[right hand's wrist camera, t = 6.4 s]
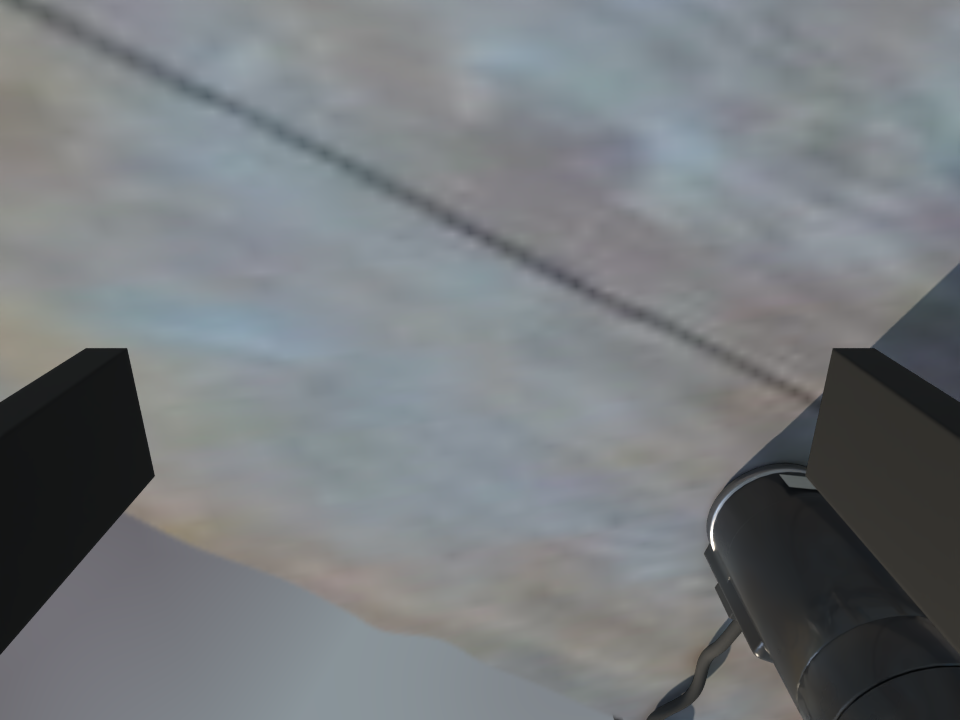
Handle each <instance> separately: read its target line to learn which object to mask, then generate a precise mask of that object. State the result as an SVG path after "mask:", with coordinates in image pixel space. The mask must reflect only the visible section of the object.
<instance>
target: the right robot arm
mask: <svg viewBox="0 0 960 720" xmlns="http://www.w3.org/2000/svg"><path fill="white" fill-rule="evenodd" d="M154 476H155V475H154V470H153V466H152V461H151V456H150V452H149V447H148V442H147V438H146V433H145V429H144V424H143V419H142V415H141V410H140V405H139V401H138V396H137V392H136V387H135V382H134V378H133V373H132V369H131V364H130V359H129V355H128V350H127V348H86V349H84V350H82V351H81V352H79V353H78V354H76V355H75V356H73V357H71V358H70V359H68V360H67V361H65V362H63V363H62V364H60V365H59V366H57V367H55V368H54V369H52V370H51V371H49V372H48V373H46V374H44V375H43V376H41V377H40V378H38V379H36V380H35V381H33V382H32V383H30V384H29V385H27V386H25V387H24V388H22V389H21V390H19V391H17V392H16V393H14V394H13V395H11V396H9V397H8V398H6V399H5V400H3V401H2V402H0V654H1V653H2V652H3V651H4V650H5V649H6V648H7V646H8V645H9V644H10V643H11V642H12V641H13V639H14V638H15V637H16V636H17V635H18V634H19V632H20V631H21V630H22V629H23V628H24V627H25V626H26V624H27V623H28V622H29V621H30V620H31V619H32V617H33V616H34V615H35V614H36V613H37V612H38V611H39V609H40V608H41V607H42V606H43V605H44V604H45V602H46V601H47V600H48V599H49V598H50V597H51V595H52V594H53V593H54V592H55V591H56V590H57V589H58V587H59V586H60V585H61V584H62V583H63V582H64V580H65V579H66V578H67V577H68V576H69V575H70V574H71V572H72V571H73V570H74V569H75V568H76V567H77V565H78V564H79V563H80V562H81V561H82V560H83V558H84V557H85V556H86V555H87V554H88V553H89V552H90V550H91V549H92V548H93V547H94V546H95V545H96V543H97V542H98V541H99V540H100V539H101V538H102V536H103V535H104V534H105V533H106V532H107V531H108V530H109V528H110V527H111V526H112V525H113V524H114V523H115V521H116V520H117V519H118V518H119V517H120V516H121V515H122V513H123V512H124V511H125V510H126V509H127V508H128V506H129V505H130V504H131V503H132V502H133V501H134V499H135V498H136V497H137V496H138V495H139V494H140V493H141V491H142V490H143V489H144V488H145V487H146V486H147V484H148V483H149V482H150V481H151V480H152V479H153V478H154ZM805 476H806V478H807V479H808V480H809V481H810V482H811V483H812V484H813V486H814V487H815V488H816V489H817V490H818V491H819V493H820V494H821V495H822V496H823V497H824V498H825V499H826V501H827V502H828V503H829V504H830V505H831V506H832V508H833V509H834V510H835V511H836V512H837V513H838V515H839V516H840V517H841V518H842V519H843V520H844V521H845V523H846V524H847V525H848V526H849V527H850V528H851V530H852V531H853V532H854V533H855V534H856V535H857V536H858V538H859V539H860V540H861V541H862V542H863V543H864V545H865V546H866V547H867V548H868V549H869V550H870V552H871V553H872V554H873V555H874V556H875V557H876V558H877V560H878V561H879V562H880V563H881V564H882V565H883V567H884V568H885V569H886V570H887V571H888V572H889V574H890V575H891V576H892V577H893V578H894V579H895V580H896V582H897V583H898V584H899V585H900V586H901V587H902V589H903V590H904V591H905V592H906V593H907V594H908V595H909V597H910V598H911V599H912V600H913V601H914V602H915V604H916V605H917V606H918V607H919V608H920V609H921V611H922V612H923V613H924V614H925V615H926V616H927V617H928V619H929V620H930V621H931V622H932V623H933V624H934V626H935V627H936V628H937V629H938V630H939V631H940V633H941V634H942V635H943V636H944V637H945V638H946V639H947V641H948V642H949V643H950V644H951V645H952V646H953V648H954V649H955V650H956V651H957V652H958V653H959V654H960V402H958V401H957V400H955V399H954V398H952V397H951V396H949V395H947V394H946V393H944V392H943V391H941V390H939V389H938V388H936V387H935V386H933V385H931V384H930V383H928V382H927V381H925V380H924V379H922V378H920V377H919V376H917V375H916V374H914V373H912V372H911V371H909V370H908V369H906V368H905V367H903V366H901V365H900V364H898V363H897V362H895V361H893V360H892V359H890V358H889V357H887V356H885V355H884V354H882V353H881V352H879V351H878V350H876V349H874V348H833V350H832V355H831V359H830V364H829V369H828V373H827V378H826V382H825V387H824V392H823V396H822V401H821V405H820V410H819V415H818V419H817V424H816V429H815V433H814V438H813V442H812V447H811V452H810V456H809V461H808V466H807V470H806V475H805Z"/></svg>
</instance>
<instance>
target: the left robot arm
mask: <svg viewBox="0 0 960 720" xmlns="http://www.w3.org/2000/svg"><path fill="white" fill-rule="evenodd" d="M806 470H807V467H805V466H801V465H796V464H772V465H767V466H763V467H759V468H756V469H753V470H751V471H749V472H747V473H745V474H743V475H741V476H739V477H738V478H736V479H735V480H733V481H732V482H731V483H730V484H729V485H727V486H726V487H725V488H724V489H723V490H722V492H721V493H720V494H719V495H718V497H717V498H716V499H715V501H714V503H713V505H712V507H711V509H710V512H709V515H708V519H707V536H708V540H709V546H708V548H707V549H706V551H705V553H704V555H705V557H706V559H707V561H708V563H709V565H710V567H711V569H712V571H713V573H714V575H715V577H716V579H717V581H718V584H717V585H716V587H715V589H716V591H717V593H718V595H719V598H720V600H721V602H722V604H723V606H724V608H725V610H726V612H727V614H728V616H729V618H730V619H733V621H732V622H731V624H730V625H729V626H728V628H727V629H726V630H725V631H724V632H723V634H722V635H721V636H720V637H719V638H718V639H717V640H716V641H715V642H714V643H713V644H711V645H709V646H708V647H707V648H706V649H705V650H704V651H703V652H702V653H701V655H700V657H699V659H698V662H697V666H696V671H695V675H694V679H693V682H692V684H691V686H690V687H689V689H688V690H687V691H686V692H685V693H684V694H683V695H681V696H680V697H678V698H676V699H675V700H673V701H671V702H669V703H667V704H665V705H663V706H661V707H659V708H658V709H656V710H655V711H654V712H652V713H651V714H650V716H649V717H648V718H647V720H664V719H665V718H667V717H669V716H671V715H672V714H675V713H677V712H679V711H681V710H682V709H684V708H686V707H688V706H689V705H690V704H692V703H693V702H694V701H695V700H696V699H697V698H698V696H699V695H700V694H701V692H702V690H703V688H704V685H705V682H706V678H707V673H708V669H709V666H710V663H711V662H712V660H713V659H714V658H715V657H717V656H718V655H720V654H721V653H723V652H724V651H725V650H726V649H727V648H728V647H729V646H730V645H731V644H732V643H733V642H734V641H735V639H736V638H737V637H738V636H739V635H740V633H741V632H743V634H744V636H745V638H746V640H747V642H748V644H749V646H750V648H751V650H752V652H753V653H754V655H755V656H757V657H758V658H760V659H762V660H765V661H768V662H771V663H774V665H775V667H776V669H777V671H778V673H779V675H780V677H781V678H782V680H783V682H784V684H785V686H786V688H787V690H788V692H789V694H790V696H791V698H792V699H793V701H794V703H795V705H796V707H797V709H798V711H799V713H800V714H801V716H802V718H803V720H960V654H959V653H958V652H957V651H956V650H955V649H954V648H953V646H952V645H951V644H950V643H949V642H948V641H947V639H946V638H945V637H944V636H943V635H942V634H941V633H940V631H939V630H938V629H937V628H936V627H935V626H934V624H933V623H932V622H931V621H930V620H929V619H928V617H927V616H926V615H925V614H924V613H923V612H922V611H921V609H920V608H919V607H918V606H917V605H916V604H915V602H914V601H913V600H912V599H911V598H910V597H909V595H908V594H907V593H906V592H905V591H904V590H903V589H902V587H901V586H900V585H899V584H898V583H897V582H896V580H895V579H894V578H893V577H892V576H891V575H890V574H889V572H888V571H887V570H886V569H885V568H884V567H883V565H882V564H881V563H880V562H879V561H878V560H877V558H876V557H875V556H874V555H873V554H872V553H871V552H870V550H869V549H868V548H867V547H866V546H865V545H864V543H863V542H862V541H861V540H860V539H859V538H858V536H857V535H856V534H855V533H854V532H853V531H852V530H851V528H850V527H849V526H848V525H847V524H846V523H845V521H844V520H843V519H842V518H841V517H840V516H839V515H838V513H837V512H836V511H835V510H834V509H833V508H832V506H831V505H830V504H829V503H828V502H827V501H826V499H825V498H824V497H823V496H822V495H821V494H820V493H819V491H818V490H817V489H816V488H815V487H814V486H813V484H812V483H811V482H810V481H809V480H808V479H807V478H806V476H805V475H806ZM613 718H614V720H621V719H618V718H615V717H613Z"/></svg>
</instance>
